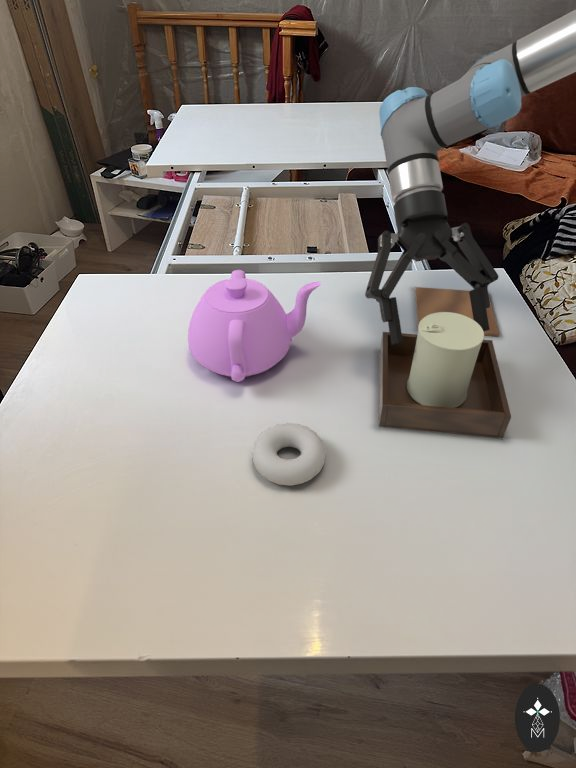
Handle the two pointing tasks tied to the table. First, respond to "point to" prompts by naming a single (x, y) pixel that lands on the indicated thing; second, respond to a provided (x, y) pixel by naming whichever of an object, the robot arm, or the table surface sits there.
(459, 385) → the can
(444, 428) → the tray
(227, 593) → the table surface
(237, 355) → the teapot
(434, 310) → the coaster
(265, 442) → the donut
